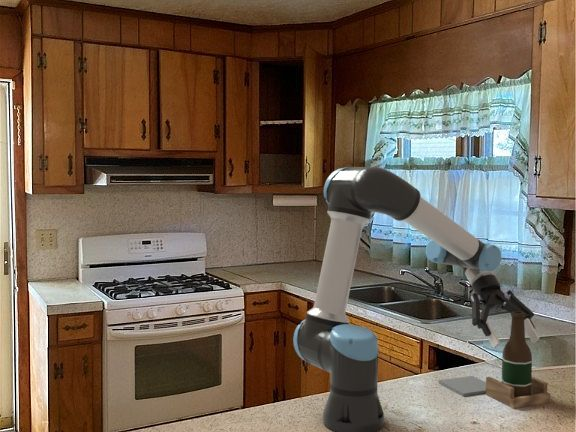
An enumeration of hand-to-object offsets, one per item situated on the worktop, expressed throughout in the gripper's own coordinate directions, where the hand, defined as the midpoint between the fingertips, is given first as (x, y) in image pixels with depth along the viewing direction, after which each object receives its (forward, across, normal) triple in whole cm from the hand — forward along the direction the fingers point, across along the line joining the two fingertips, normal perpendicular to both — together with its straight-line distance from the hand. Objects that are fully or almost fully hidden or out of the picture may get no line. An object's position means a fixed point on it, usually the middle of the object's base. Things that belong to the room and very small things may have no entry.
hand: (516, 343), depth 175 cm
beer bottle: (+12, +1, -10) cm, 15 cm away
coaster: (+3, +8, -18) cm, 20 cm away
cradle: (+12, +1, -10) cm, 15 cm away
